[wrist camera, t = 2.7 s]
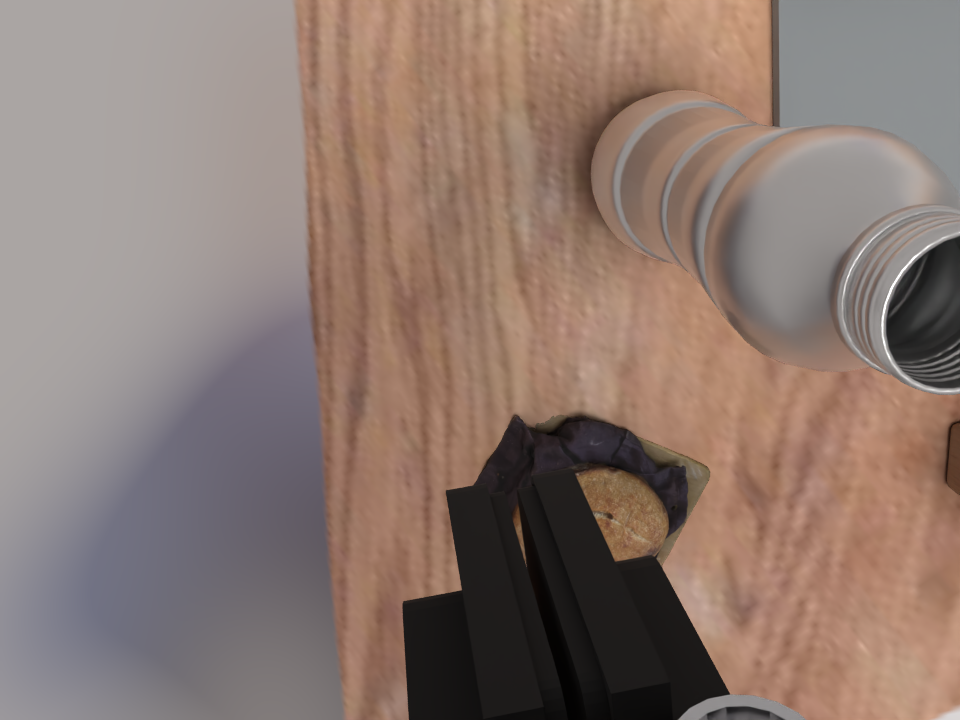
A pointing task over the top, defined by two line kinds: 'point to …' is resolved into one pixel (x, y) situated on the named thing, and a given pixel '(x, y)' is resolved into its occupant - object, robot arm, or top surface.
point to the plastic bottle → (794, 232)
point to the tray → (872, 70)
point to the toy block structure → (954, 459)
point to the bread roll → (603, 480)
